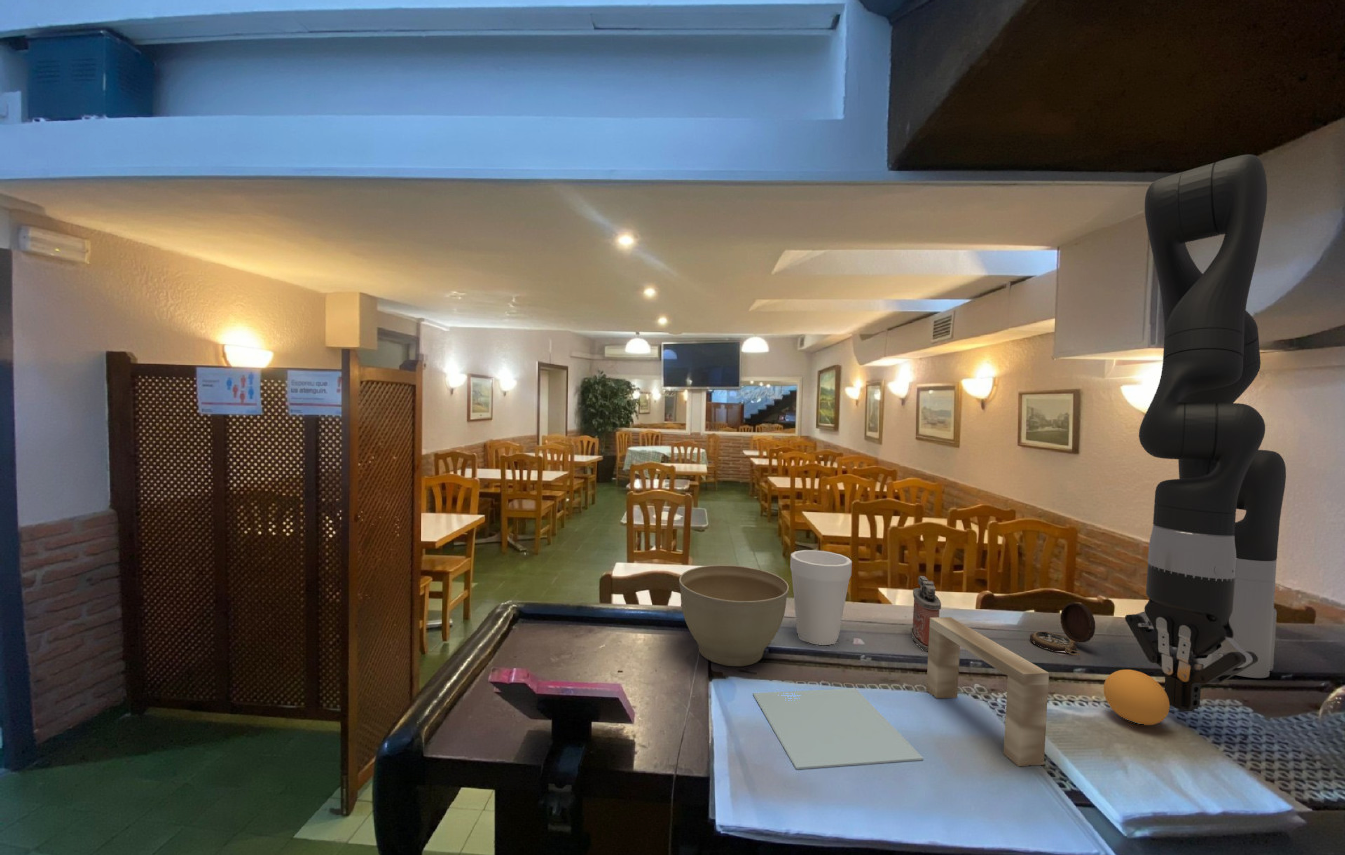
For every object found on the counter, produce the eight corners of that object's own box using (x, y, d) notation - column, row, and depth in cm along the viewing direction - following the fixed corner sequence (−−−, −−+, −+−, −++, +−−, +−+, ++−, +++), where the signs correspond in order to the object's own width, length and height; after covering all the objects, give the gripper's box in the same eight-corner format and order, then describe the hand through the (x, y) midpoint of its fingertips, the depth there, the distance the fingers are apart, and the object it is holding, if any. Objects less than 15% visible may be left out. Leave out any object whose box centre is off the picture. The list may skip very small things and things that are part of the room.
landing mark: (855, 689, 68) (855, 688, 68) (923, 760, 55) (923, 758, 55) (752, 694, 66) (752, 693, 66) (796, 769, 52) (796, 767, 52)
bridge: (946, 689, 69) (950, 617, 69) (1043, 764, 55) (1049, 673, 54) (926, 690, 69) (929, 617, 69) (1018, 766, 54) (1023, 674, 54)
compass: (1020, 637, 88) (1022, 594, 88) (1066, 639, 88) (1068, 596, 88) (1056, 660, 80) (1059, 613, 80) (1107, 661, 80) (1109, 614, 80)
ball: (1129, 706, 67) (1132, 659, 67) (1182, 734, 61) (1185, 684, 61) (1089, 708, 66) (1092, 661, 66) (1138, 737, 60) (1142, 686, 60)
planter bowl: (654, 650, 78) (656, 578, 77) (721, 622, 89) (724, 559, 89) (741, 693, 66) (745, 609, 66) (806, 655, 78) (809, 583, 78)
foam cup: (848, 631, 87) (851, 554, 87) (847, 654, 79) (851, 569, 78) (790, 622, 90) (793, 547, 90) (783, 643, 82) (787, 561, 81)
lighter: (943, 654, 80) (946, 589, 80) (919, 651, 81) (922, 587, 80) (928, 633, 88) (931, 574, 88) (907, 631, 89) (910, 572, 88)
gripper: (1286, 584, 58) (1276, 739, 58) (1155, 552, 71) (1147, 679, 71) (1232, 584, 56) (1222, 744, 56) (1109, 552, 69) (1101, 682, 69)
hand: (1180, 707), depth 64 cm, fingers closed
